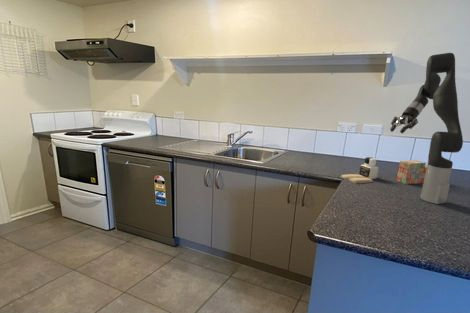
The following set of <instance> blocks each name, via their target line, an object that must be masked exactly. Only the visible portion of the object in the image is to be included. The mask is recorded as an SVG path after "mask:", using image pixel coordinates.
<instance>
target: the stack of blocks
mask: <svg viewBox="0 0 470 313" xmlns="http://www.w3.org/2000/svg"><path fill="white" fill-rule="evenodd" d="M426 169H427V163H426V162H424V161H421V160H417V159H414V160H412V159H411V160H400V161H399V166H398V170H397V175H396V180H395V181H396V182H399V183H402V184H404V185H409V184H410V185H411V184H423V183H424V178H425V174H426Z"/></svg>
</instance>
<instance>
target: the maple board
mask: <svg viewBox="0 0 470 313" xmlns="http://www.w3.org/2000/svg"><path fill="white" fill-rule="evenodd" d="M340 178H343V179H346V180H347V181H350V182H352V183H353V184H364V183H365V184H366V183H373V182H374V181H373V179H369V178H367V177H364V176H362V175H359V173H348V174H341V176H340Z"/></svg>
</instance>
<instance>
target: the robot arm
mask: <svg viewBox="0 0 470 313" xmlns="http://www.w3.org/2000/svg"><path fill="white" fill-rule="evenodd" d="M441 73H442V74H443V73H445V75H446V76H445V77H444V78H443V81H442V79H441V76H440V75H439V74H441ZM429 100H432V106H433V111H434V113H435V114H436V115H437V116H438V117H439V118H440V119H441V121H442V122H443V123H444V125H445V128H446V130H447V131H435V132H434V133H433V134H432V135H431V139H430V144H429V149H428V150H429V152H428V157H427V158H428V159H427V160H428V161H427V163H426V165H427V169H426V174H425V178H424V183H422V187H421V188H422V189H421V193H420V197H419V198H420V199H421V200H422V201H425V202H427V203H432V204H436V205H439V204H446V203H447V199H448V194H449V190H450V187H451V184H450V183H449V182H450V181H449V180H450V177H451V172H452V170H453V169H452V168H453V165H454V163H453V161H452V160H450V159H447V158H445V157H443V155H442V153H459V152H461V150H462V148H463V144H464V139H463V132H462V127H461V123H460V118H459V105H458V103H459V101H458V92H457V84H456V56H455V54H454V53H453V52H446V53H445V52H444V53H438V54H433V55H430V56H429V57H428V59H427V61H426V70H425V81H424V84H423V85H421V86H420V88H419V90H418V93H417V95H416V96H415V98H414V100H412V102H411V103H410V104H409V105H408V106H407V107H406V108H405V110H404V111H403V112H402V114H401V116H399V117H397V116H394V117H393V119H392V121H391V122H390V123H391V127H389V128H390V129H389V130H390V132H392V133H393V132H394V131H395V130H396V129H397V127H399V126H402V125H404V126H403V127H402V128H400V130H399V133H400V134H404V133H405V132H406V131H407V130H408V129H411V130H412V129H413V128H414V127H415V126H417V124H418V123H419V120H418V119H417V118H418V116H419V115H420V114H421V113H422V112H423V110H424V109H425V107H426V106H427V105H428V103H429Z"/></svg>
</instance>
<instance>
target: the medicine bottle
mask: <svg viewBox="0 0 470 313" xmlns="http://www.w3.org/2000/svg"><path fill="white" fill-rule="evenodd" d="M376 163H377V159H376V158H375V157H369V156H368V157H365V158H364V164H361V165H360V168H359V172H358V174H359V175H362V176H364V177H367V178H369V179H372V180H373V179H377V178H378V174H379V166H376Z"/></svg>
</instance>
